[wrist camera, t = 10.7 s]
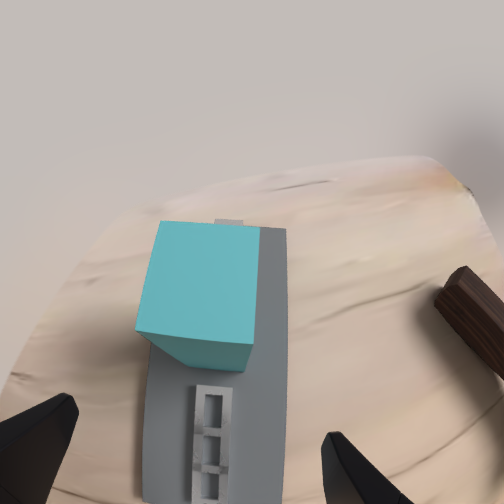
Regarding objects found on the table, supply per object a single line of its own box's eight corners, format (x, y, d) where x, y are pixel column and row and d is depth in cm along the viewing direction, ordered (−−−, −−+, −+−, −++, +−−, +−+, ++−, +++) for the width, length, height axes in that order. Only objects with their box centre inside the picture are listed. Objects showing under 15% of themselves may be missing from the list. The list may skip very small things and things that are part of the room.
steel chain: (227, 503, 13) (227, 507, 12) (193, 500, 13) (191, 504, 12) (242, 225, 24) (243, 220, 23) (215, 224, 24) (215, 218, 23)
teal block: (244, 372, 18) (253, 344, 8) (187, 366, 18) (134, 329, 8) (248, 312, 20) (260, 227, 11) (195, 307, 20) (160, 220, 11)
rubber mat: (278, 510, 13) (280, 515, 12) (146, 497, 13) (142, 501, 12) (284, 234, 25) (285, 228, 24) (175, 228, 25) (173, 222, 24)
